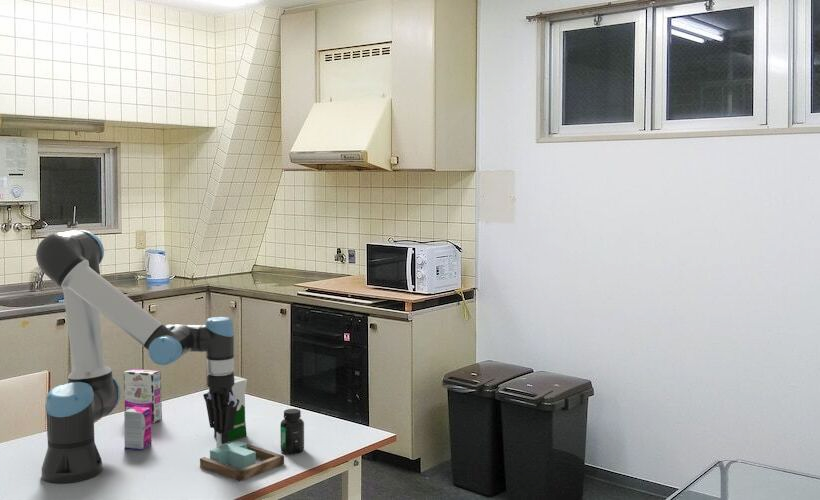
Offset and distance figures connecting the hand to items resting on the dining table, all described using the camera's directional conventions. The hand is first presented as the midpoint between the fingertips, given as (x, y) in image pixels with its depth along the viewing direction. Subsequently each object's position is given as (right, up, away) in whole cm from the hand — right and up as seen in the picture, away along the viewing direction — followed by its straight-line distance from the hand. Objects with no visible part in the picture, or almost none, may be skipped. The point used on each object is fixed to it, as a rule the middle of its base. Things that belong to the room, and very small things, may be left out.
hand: (222, 453), depth 228 cm
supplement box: (-27, -1, +9) cm, 29 cm away
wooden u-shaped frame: (+6, -2, -5) cm, 8 cm away
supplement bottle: (+19, -1, +7) cm, 20 cm away
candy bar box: (-34, +2, +35) cm, 49 cm away
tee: (+5, -2, -3) cm, 6 cm away
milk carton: (-2, 0, +19) cm, 19 cm away
